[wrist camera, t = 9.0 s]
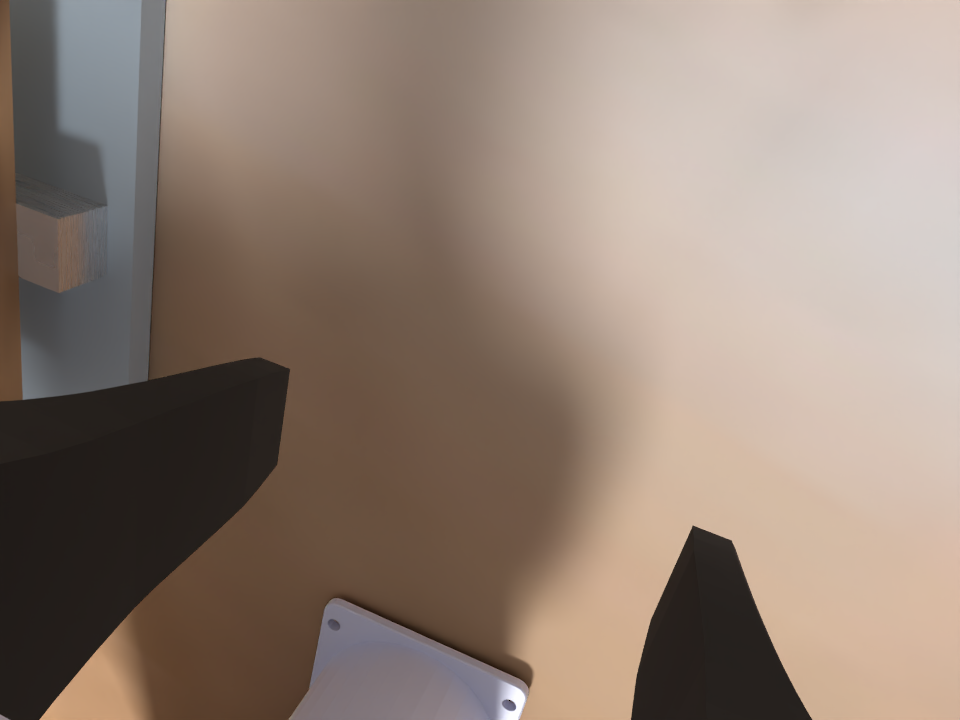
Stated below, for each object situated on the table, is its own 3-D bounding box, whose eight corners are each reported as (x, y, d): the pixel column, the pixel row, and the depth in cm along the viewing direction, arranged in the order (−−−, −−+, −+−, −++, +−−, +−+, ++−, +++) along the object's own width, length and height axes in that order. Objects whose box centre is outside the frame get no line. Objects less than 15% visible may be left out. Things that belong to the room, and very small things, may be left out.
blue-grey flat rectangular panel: (145, 441, 30) (126, 453, 29) (-46, 360, 31) (-69, 369, 31) (166, -18, 23) (142, -20, 22) (-81, -91, 24) (-113, -96, 23)
